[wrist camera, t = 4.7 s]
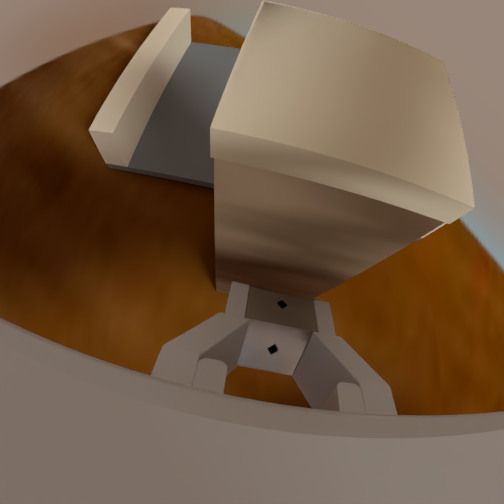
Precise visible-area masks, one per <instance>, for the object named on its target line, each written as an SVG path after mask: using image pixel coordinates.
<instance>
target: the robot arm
mask: <svg viewBox="0 0 504 504" xmlns="http://www.w3.org/2000/svg"><path fill="white" fill-rule="evenodd" d="M237 365H238V366H244V367H249V368H255V369H261V370H267V371H271V372H276V373H281V374H286V375H291V376H292V377H293V379H294V381H295V382H296V384H297V386H298V387H299V389H300V390H301V392H302V394H303V395H304V397H305V398H306V400H307V402H308V403H309V405H310V406H311V408H304V407H297V406H290V405H283V404H276V403H270V402H264V401H258V400H253V399H247V398H242V397H237V396H232V395H227V394H223V391H224V385H225V379H226V376H227V375H228V374H229V373H230V372H232V371H233V370H234V369H235V368H236V367H237ZM0 504H504V411H502V412H491V413H479V414H461V415H397V411H396V407H395V404H394V400H393V396H392V392H391V389H390V386H389V385H388V384H387V383H386V382H385V381H384V380H383V379H382V378H381V377H380V376H379V375H378V374H377V373H376V372H375V371H374V370H373V369H372V368H371V367H370V366H369V365H368V364H367V363H366V362H365V361H364V360H363V359H362V358H361V357H360V356H359V355H358V354H357V353H356V352H355V351H354V350H353V349H352V348H351V347H350V346H349V345H348V344H347V343H346V342H345V341H344V340H343V339H342V338H341V337H340V336H336V333H335V328H334V323H333V319H332V314H331V309H330V304H329V303H328V302H327V301H322V300H316V299H309V298H304V297H299V296H294V295H288V294H283V293H281V292H277V291H273V290H268V289H264V288H260V287H256V286H252V285H249V284H244V283H240V282H235V281H233V282H232V284H231V289H230V293H229V297H228V302H227V306H226V310H225V313H222V312H220V313H218V314H216V315H214V316H213V317H211V318H209V319H208V320H206V321H204V322H202V323H201V324H199V325H197V326H196V327H194V328H192V329H190V330H189V331H187V332H185V333H183V334H182V335H180V336H178V337H176V338H175V339H173V340H171V341H169V342H168V343H166V344H164V345H163V346H162V349H161V351H160V354H159V356H158V358H157V361H156V363H155V366H154V368H153V371H152V373H151V376H150V375H147V374H144V373H140V372H137V371H134V370H131V369H127V368H124V367H121V366H118V365H115V364H112V363H109V362H106V361H103V360H100V359H97V358H95V357H92V356H89V355H86V354H84V353H81V352H78V351H76V350H73V349H70V348H68V347H65V346H63V345H60V344H58V343H55V342H53V341H51V340H48V339H46V338H43V337H41V336H39V335H36V334H34V333H32V332H30V331H27V330H25V329H23V328H21V327H19V326H17V325H14V324H12V323H10V322H8V321H6V320H4V319H2V318H0Z"/></svg>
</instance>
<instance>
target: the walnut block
mask: <svg viewBox="0 0 504 504" xmlns="http://www.w3.org/2000/svg"><path fill="white" fill-rule="evenodd" d="M210 157H211V158H214V221H215V271H216V291H217V292H222V293H226V294H229V293H230V289H231V284H232V282H233V281H235V282H240V283H244V284H249V285H252V286H256V287H260V288H264V289H268V290H273V291H277V292H281V293H283V294H288V295H294V296H299V297H304V298H309V299H313V298H315V297H317V296H319V295H321V294H322V293H324V292H326V291H328V290H330V289H332V288H334V287H335V286H337V285H339V284H341V283H343V282H345V281H346V280H348V279H350V278H352V277H354V276H355V275H357V274H359V273H361V272H363V271H364V270H366V269H368V268H370V267H371V266H373V265H375V264H377V263H378V262H380V261H382V260H384V259H385V258H387V257H389V256H390V255H392V254H394V253H396V252H397V251H399V250H401V249H402V248H404V247H406V246H407V245H409V244H411V243H412V242H414V241H416V240H417V239H419V238H421V237H422V236H424V235H425V234H427V233H429V232H430V231H432V230H434V229H435V228H437V227H438V226H440V225H442V224H443V223H447V224H450V223H452V222H453V221H455V220H456V219H458V218H460V217H461V216H463V215H464V214H466V213H467V212H469V211H471V210H472V209H474V208H475V206H474V197H473V189H472V180H471V173H470V167H469V161H468V155H467V150H466V144H465V139H464V135H463V130H462V125H461V121H460V116H459V112H458V108H457V104H456V101H455V97H454V93H453V90H452V86H451V83H450V80H449V76H448V73H447V70H446V67H445V64H444V62H443V61H441V60H439V59H437V58H435V57H433V56H431V55H429V54H427V53H425V52H423V51H421V50H419V49H416V48H414V47H412V46H410V45H408V44H405V43H403V42H401V41H398V40H396V39H393V38H391V37H389V36H386V35H383V34H381V33H378V32H376V31H373V30H370V29H368V28H365V27H362V26H359V25H356V24H353V23H350V22H347V21H344V20H341V19H337V18H334V17H331V16H327V15H324V14H320V13H317V12H313V11H309V10H305V9H301V8H297V7H293V6H288V5H284V4H279V3H274V2H269V1H262V3H261V5H260V7H259V10H258V12H257V14H256V16H255V19H254V21H253V23H252V25H251V27H250V30H249V32H248V34H247V36H246V39H245V41H244V43H243V46H242V48H241V50H240V53H239V55H238V57H237V60H236V62H235V65H234V67H233V70H232V72H231V74H230V77H229V79H228V82H227V84H226V87H225V90H224V92H223V95H222V97H221V100H220V102H219V105H218V108H217V110H216V113H215V116H214V118H213V121H212V124H211V127H210Z"/></svg>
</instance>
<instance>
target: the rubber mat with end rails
mask: <svg viewBox="0 0 504 504" xmlns="http://www.w3.org/2000/svg"><path fill="white" fill-rule="evenodd" d="M240 50H241V49H236V48H230V47H224V46H217V45H210V44H202V43H193V42H191V24H190V9H185V8H170V9H169V10H168V12H167V13H166V14H165V15H164V16H163V18H162V19H161V20H160V21H159V23H158V24H157V25H156V27H155V28H154V29H153V30H152V32H151V33H150V34H149V36H148V37H147V38H146V40H145V41H144V42H143V44H142V45H141V47H140V48H139V49H138V51H137V52H136V54H135V55H134V56H133V58H132V59H131V61H130V62H129V64H128V65H127V67H126V68H125V70H124V71H123V73H122V74H121V76H120V77H119V79H118V80H117V82H116V84H115V85H114V87H113V88H112V90H111V92H110V93H109V95H108V97H107V98H106V100H105V102H104V103H103V105H102V107H101V108H100V110H99V112H98V114H97V115H96V117H95V119H94V121H93V123H92V124H91V126H90V128H89V132H90V134H91V136H92V138H93V140H94V142H95V144H96V146H97V148H98V150H99V152H100V154H101V155H102V157H103V159H104V161H105V163H106V165H107V167H108V168H111V169H117V170H123V171H128V172H134V173H139V174H144V175H150V176H155V177H160V178H165V179H170V180H175V181H180V182H185V183H190V184H195V185H200V186H204V187H209V188H214V158H211V157H210V127H211V124H212V121H213V118H214V116H215V113H216V110H217V108H218V105H219V102H220V100H221V97H222V95H223V92H224V90H225V87H226V84H227V82H228V79H229V77H230V74H231V72H232V70H233V67H234V65H235V62H236V60H237V57H238V55H239V53H240ZM445 224H446V223H443V224H442V225H440V226H438V227H437V228H435V229H434V230H432V231H430V232H429V233H427V234H425V235H424V236H422V237H421V238H419V239H417V240H416V241H419V240H420V239H422V238H424V237H425V236H427V235H428V234H430V233H432V232H433V231H435V230H437V229H438V228H440V227H442V226H443V225H445Z"/></svg>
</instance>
